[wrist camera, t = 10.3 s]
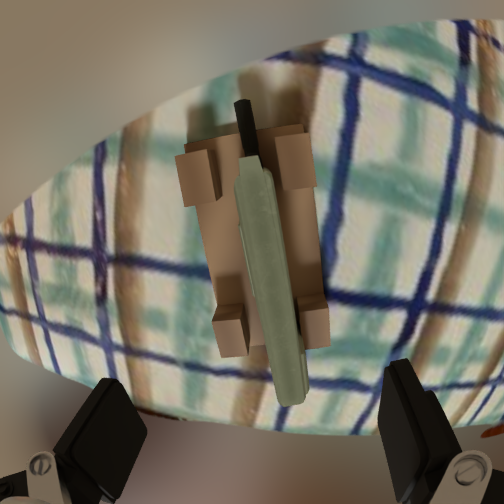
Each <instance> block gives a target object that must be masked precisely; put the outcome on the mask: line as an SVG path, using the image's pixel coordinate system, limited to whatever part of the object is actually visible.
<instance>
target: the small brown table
mask: <svg viewBox="0 0 504 504" xmlns="http://www.w3.org/2000/svg"><path fill="white" fill-rule="evenodd" d="M256 133H257V138H258V143H259V147H258V148H259V153H260V157H261V159H262V164H263V167H266V168H267V169H269V170H270V172H271V173H272V177H273V182H274V187H275V193H276V199H277V204H278V210H279V216H280V222H281V228H282V234H283V240H284V246H285V252H286V259H287V265H288V271H289V278H290V284H291V291H292V298H293V305H294V311H295V318H296V321H298V323H299V324H300V328H301V335H302V338H303V343H304V348H305V350H307V349H315V348H322V347H328V346H331V345H330V323H329V308H328V304H327V301H326V298H325V295H324V291H323V279H322V267H321V257H320V246H319V237H318V228H317V219H316V211H315V203H314V195H313V187H317V183H316V176H315V169H314V162H313V155H312V149H311V142H310V136H309V133H304V128H303V124H296V125H288V126H281V127H273V128H267V129H260V130H256ZM184 148H185V154H182V155H177V156H175V161H176V166H177V171H178V177H179V182H180V187H181V192H182V197H183V202H184V207H189V206H194V205H195V206H196V211H197V216H198V221H199V226H200V230H201V235H202V240H203V244H204V249H205V254H206V258H207V263H208V267H209V271H210V276H211V280H212V284H213V289H214V293H215V297H216V301H217V308H216V311H215V314H214V316H213V319H212V325H213V329H214V333H215V336H216V340H217V344H218V347H219V351H220V355H221V358H226V357H240V356H248V352H249V346H254V345H264V344H265V339H264V335H263V330H262V325H261V321H260V316H259V312H258V310H257V305H256V300H255V297H254V296H253V295H252V291H251V286H250V281H249V276H248V272H247V267H246V262H245V257H244V252H243V247H242V242H241V238H240V233H239V228H238V224H239V216H238V211H237V206H236V200H235V195H234V182H235V179H236V177H237V176H238V175H239V158H242V157H245V153H244V149H243V148H242V142H241V137H240V133H237V134H231V135H226V136H221V137H216V138H211V139H206V140H201V141H197V142H192V143H188V144H184Z"/></svg>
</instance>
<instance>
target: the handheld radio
mask: <svg viewBox="0 0 504 504" xmlns="http://www.w3.org/2000/svg"><path fill="white" fill-rule="evenodd" d="M234 107H235V112H236V117H237V122H238V127H239V132H240V137H241V142H242V148H243V149H244V153H245V157H242V158H239V175H238V176H237V177H236V179H235V182H234V195H235V200H236V206H237V211H238V216H239V224H238V228H239V233H240V238H241V242H242V247H243V252H244V257H245V262H246V267H247V272H248V276H249V281H250V286H251V291H252V295H253V296H254V297H255V300H256V305H257V310H258V312H259V316H260V321H261V325H262V330H263V335H264V339H265V344H266V349H267V353H268V358H269V363H270V367H271V372H272V377H273V381H274V386H275V390H276V395H277V399H278V402H279V403H280V404H281V405H282V406H284V407H286V406H292V405H297V404H301V403H303V402H304V400H305V398H306V394H307V393H308V391H309V379H308V370H307V361H306V353H305V348H304V343H303V338H302V335H301V328H300V324H299V323H298V321H296V318H295V311H294V305H293V298H292V291H291V284H290V278H289V271H288V265H287V259H286V252H285V246H284V240H283V234H282V228H281V222H280V216H279V210H278V204H277V199H276V193H275V187H274V182H273V177H272V173H271V172H270V170H269V169H267V168H266V167H263V164H262V159H261V157H260V153H259V148H258V147H259V143H258V138H257V133H256V128H255V123H254V118H253V113H252V108H251V103H250V100H246V99H242V100H238V101H237V102H235V103H234Z"/></svg>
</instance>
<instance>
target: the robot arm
mask: <svg viewBox="0 0 504 504" xmlns="http://www.w3.org/2000/svg"><path fill="white" fill-rule="evenodd" d="M378 427H379V431H380V435H381V438H382V442H383V446H384V450H385V454H386V457H387V462H388V466H389V470H390V474H391V479H392V483H393V487H394V492H395V496H396V500H397V502H398V503H400V502H402V504H504V472H502V471H498V470H495V469H492V463H491V461H490V459H489V457H488V456H486V454H484V453H483V452H480V451H477V450H469V451H464V452H462V450H461V447H460V445H459V443H458V441H457V438H456V436H455V434H454V432H453V430H452V428H451V425H450V423H449V421H448V419H447V417H446V415H445V413H444V411H443V409H442V407H441V405H440V403H439V401H438V399H437V397H436V395H435V393H434V392H433V391H432V390H428V391H424V389H423V387H422V385H421V383H420V381H419V379H418V377H417V375H416V373H415V371H414V369H413V367H412V366H411V364H410V362H409V360H408V359H407V358H405V359H400V360H396V361H391V362H390V365H389V366H388V367H385V370H384V378H383V386H382V393H381V400H380V406H379V412H378ZM146 436H147V428H146V426H145V424H144V422H143V421H142V419H141V418H140V416H139V414H138V412H137V410H136V409H135V407H134V405H133V403H132V401H131V400H130V398H129V396H128V394H127V392H126V390H125V388H124V387H123V385H122V384H121V383H120V382H119V381H118V380H117V379H113V378H102V379H101V380H100V381H99V383H98V384H97V385H96V387H95V388H94V390H93V391H92V393H91V394H90V395H89V397H88V398H87V400H86V401H85V403H84V404H83V405H82V407H81V408H80V410H79V411H78V413H77V414H76V416H75V417H74V419H73V420H72V422H71V423H70V425H69V426H68V427H67V429H66V430H65V432H64V434H63V435H62V437H61V438H60V440H59V441H58V443H57V444H56V446H55V447H54V449H53V451H54V452H55V456H53V455H52V454H51V453H49V452H47V451H41V452H37V453H35V454H34V455H32V456H31V457H30V459H29V460H28V462H27V466H26V470H24V471H22V472H19V473H15V474H12V475H9V476H6V477H3V478H1V479H0V504H99V502H100V500H102V501H105V502H108V503H111V504H114V503H115V501H116V499H118V498H119V497H120V496H121V494H122V491H123V489H124V487H125V484H126V482H127V480H128V477H129V475H130V473H131V470H132V468H133V466H134V463H135V461H136V459H137V457H138V454H139V452H140V450H141V447H142V445H143V443H144V441H145V438H146Z"/></svg>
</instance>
